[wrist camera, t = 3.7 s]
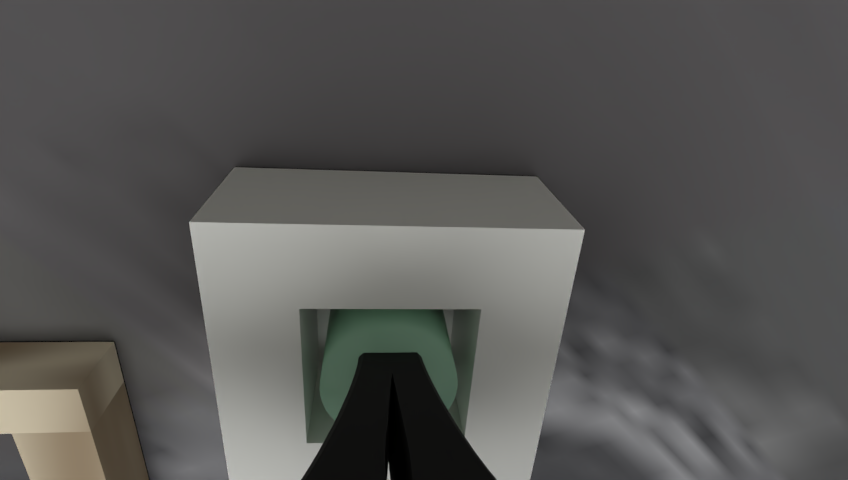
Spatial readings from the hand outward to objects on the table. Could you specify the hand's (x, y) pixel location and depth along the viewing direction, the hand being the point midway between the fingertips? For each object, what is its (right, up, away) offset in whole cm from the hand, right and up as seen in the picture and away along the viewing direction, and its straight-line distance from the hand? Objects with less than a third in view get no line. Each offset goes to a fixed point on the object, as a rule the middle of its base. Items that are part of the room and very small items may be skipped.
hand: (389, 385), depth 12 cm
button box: (0, +2, +3) cm, 4 cm away
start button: (0, +1, +3) cm, 3 cm away
